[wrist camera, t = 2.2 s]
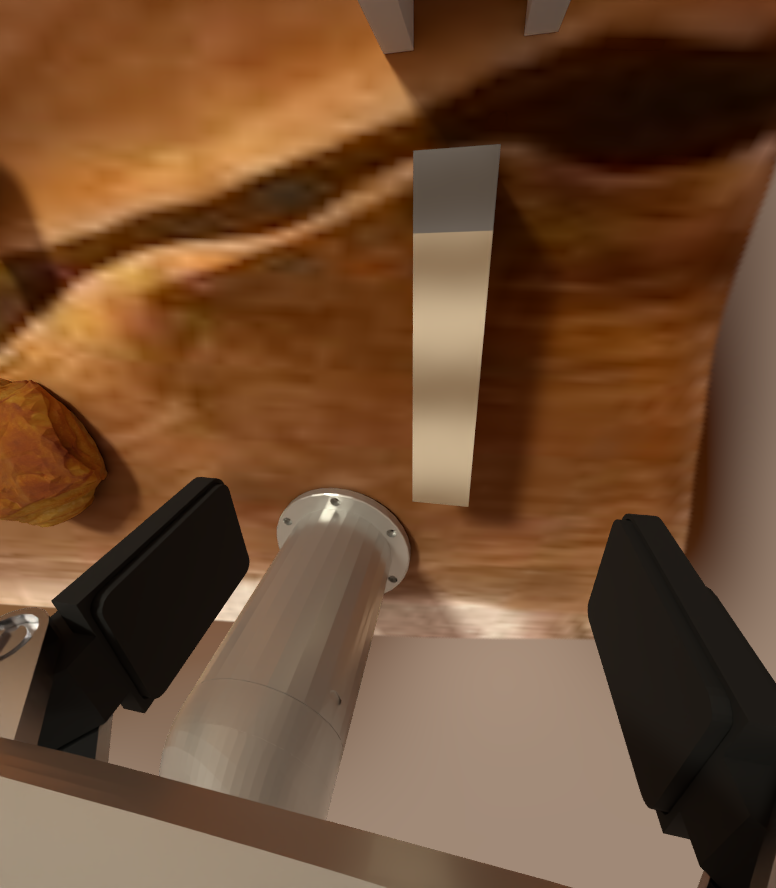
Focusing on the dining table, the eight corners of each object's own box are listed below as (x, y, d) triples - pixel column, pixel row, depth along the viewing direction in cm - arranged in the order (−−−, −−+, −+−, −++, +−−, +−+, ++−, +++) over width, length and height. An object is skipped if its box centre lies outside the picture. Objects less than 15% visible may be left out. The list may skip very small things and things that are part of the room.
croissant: (59, 493, 44) (-11, 548, 38) (-58, 373, 36) (-173, 418, 29) (153, 489, 40) (93, 550, 34) (47, 351, 31) (-60, 399, 25)
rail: (469, 458, 29) (468, 506, 23) (423, 455, 29) (412, 501, 24) (493, 168, 20) (500, 144, 15) (428, 172, 21) (413, 150, 16)
